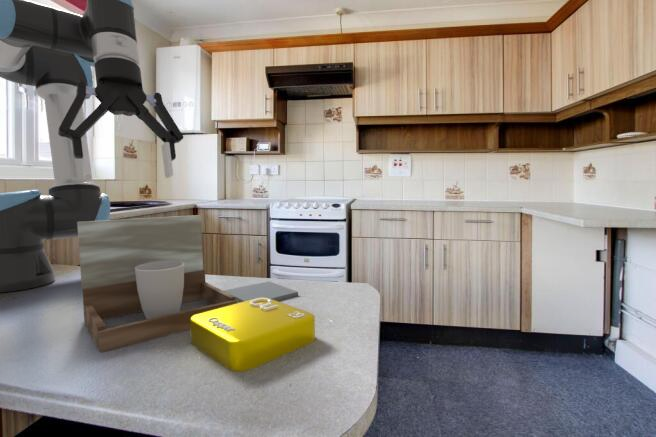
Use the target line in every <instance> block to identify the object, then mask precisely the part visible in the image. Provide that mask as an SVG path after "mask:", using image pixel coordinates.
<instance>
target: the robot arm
mask: <svg viewBox="0 0 656 437" xmlns="http://www.w3.org/2000/svg"><path fill="white" fill-rule="evenodd" d="M134 10H135V8H134V5H133V0H86V7H85V10H84V12H83V13H82V15H80V14H77V13H74V12H70V11H66V10H63V9H60V8H59V9H58V8H56V7H53V6H48V5H45V4H42V3H38V2H35V1H32V0H0V78H1V79H4V80H7V81H8V82H13V83H15V84H21V85H25V86H31V87H35V92H36V95H37V96H38V97H40V98H41V99H42V100H44V107H45V114H46V116H45V117H46V124H47V129H48V130H47V132H48V140H49V146H50V155H51V163H52V164H51V165H52V172H53V179H54V180H53V181H54V183H53V184H52V185H51V186H49V188H48V194H42V192H41V191H40V189H29V190H28V189H27V190H17V191H9V192H0V293H7V292H9V293H10V292H16V291H23V290H28V289H32V288H37V287H41V286H44V285H48V284H50V283H52V282H54V281H55V280H56V274H55V270H54V268H53V266H52V264H51V262H50V260H49V258H48V255H47V254H46V252H45V246H44V245H45V244H44V242H45V241H49V240H58V239H59V240H60V239H61V240H62V239H69V238H70V239H71V238H78V226H77V222H87V221H104V220H110V216H111V201H110V196H109V195H108V194H106V193H103V192H102V193H101V186H99V185H98V184H97V183H95V181H93V176H92V174H93V173H92V167H91V159H90V152H89V146H88V144H89V143H88V136H87V132H88V131H89V130H90V129H91V128H92V127H93V126H95V124H96V123H98V121H100V120H101V118H103V117H104V115H106V113H107V112H110V113H111V114H112V115H114V116H115V115H116V116H118V115H123V116H127V117H132V116H136V117H137V118H138V119H139V120H140V121H142V122H143V123H144V124H145V125H146V126H147V127H148V129H149V130H151V131H152V132H153V134H155V135H156V136H157V137H158V139H160V141H162V142H163V144H161V153H162V161H163V170H164V172H163V173H164V178H166V179H169V178H171V177H172V176H174V170H173V162H172V161H174V160H176V147H175V144H176V143H177V144H178V143H180V142H181V141H182V140H184V134H183V133H182V131H181V130H180V128H179V127H178V126H177V124H176V122H175V120H174V119H173V117H172V115H171V114H170V112H169V111H168V109H167V107H166V105H164V101H163V97H162V94H161V93H160V92H155V93H154V94H147V93H145V91H144V88H143V82H142V78H143V77H142V71H141V68H140V65H141V64H140V57H139V48H138V39H137V32H136V31H137V30H136V22H135V21H136V20H135V12H134ZM91 67H94V75H95V81H96V85H95V86H96V87H94V81H93V78H94V76H93V71H92V68H91ZM91 96H94V97H95V98H96V99H97V100H98V101H99V102H100V104H98V106H97V107H96V108H95V109H94V110H93V111H92V112H91V113H90V114H89V115H88V116H87V117H86V118H85V116H84V115H85V113H84V108H83V105H84V102H85V101H86V100H89V99H90V98H91ZM146 102H148V103H149V106H150V107H153V109H154V111H155V113H156V115H157V116H158V118H159V120H160V121H161V123H160V121H158V119H156V118H155V117H154V115H153V114H152V113H151V112H150V111H149V109H148V108H147V107H146V106H145V103H146ZM162 124H163V125H162Z"/></svg>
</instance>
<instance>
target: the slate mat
mask: <svg viewBox="0 0 656 437" xmlns="http://www.w3.org/2000/svg"><path fill="white" fill-rule="evenodd" d="M223 291H225V292H227V293H229V294H231V295H233V296H235V299H236V300H238V303H240V302H244V301H248V300H252V299H256V298H260V297H266V298H269V299H272V300H275V301H278V302H279V301H281V300H284V299H285V300H286V299H289V298H293V297H297V296H299V291H297V290H294V289H291V288H288V287H286V286H283V285H281V284H278V283H275V282H272V281H265V282H259V283H254V284H250V285H244V286H240V287H234V288H231V289H225V290H223Z"/></svg>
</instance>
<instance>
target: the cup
mask: <svg viewBox="0 0 656 437" xmlns="http://www.w3.org/2000/svg"><path fill="white" fill-rule="evenodd" d="M135 274H136V282H137V290H138V295H139V299H140V303H141V307H142V310H143V311H142V312H143V315H144V316H145V320H147V319H151V318H155V317H160V316H164V315H169V314H173V313H177V312H181V306H182V304H183V303H182V296H183V288H184V263H183V262H180V261H158V262H150V263H145V264H141V265H138V266H136V267H135Z"/></svg>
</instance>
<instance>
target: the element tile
mask: <svg viewBox="0 0 656 437" xmlns="http://www.w3.org/2000/svg"><path fill="white" fill-rule="evenodd" d="M315 326H316V323H315V315H314V313H311V312H310V311H308V310H307V311H306V310H303V309H301V308H297V307H295V306H292V305H289V304H286V303H284V302H280V301H279V300H278V301H275V300H272V299H269V298H266V297H260V298H256V299H252V300H248V301H244V302H238V303H237V304H233V305H229V306H225V307H222V308H218V309H214V310H210V311H206V312H203V313H199V314H195V315H193V316H192V317H191V318H190V329H189V330H190V344H191V345H192V346H194V347H196V348H197V349H198V350H200V351H201V352H202V353H204V354H205V355H208V356H209V357H210V358H212V359H214V360H215V361H216V362H218V363H219V364H221V365H223V366H224V367H225V368H226V369H228V370H231V371H234V372H244V371H249V370H252V369H254V368H256V367H259V366H261V365H264V364H265V363H268V362H270V361H272V360H275V359H278V358H280V357H282V356H284V355H287V354H289V353H291V352H293V351H296V350H298V349H301V348H303V347H305V346H308V345H311V344H312V343H313V342H314V341H315V339H316V337H315V336H316V331H315V330H316V327H315Z"/></svg>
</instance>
